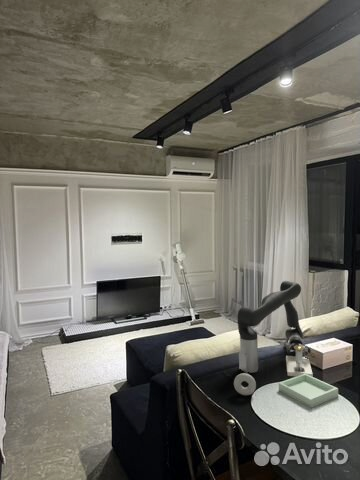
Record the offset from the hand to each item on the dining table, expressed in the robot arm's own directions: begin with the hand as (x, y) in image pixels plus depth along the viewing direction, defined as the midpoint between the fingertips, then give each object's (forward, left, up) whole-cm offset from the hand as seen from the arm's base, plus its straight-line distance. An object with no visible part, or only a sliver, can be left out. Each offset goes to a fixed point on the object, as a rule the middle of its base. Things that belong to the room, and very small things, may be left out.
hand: (297, 352), depth 178 cm
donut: (-44, -8, -8) cm, 46 cm away
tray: (-19, -22, -8) cm, 30 cm away
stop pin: (-6, -6, -8) cm, 12 cm away
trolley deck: (-1, -1, -8) cm, 8 cm away
